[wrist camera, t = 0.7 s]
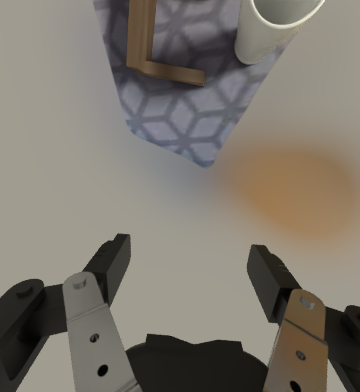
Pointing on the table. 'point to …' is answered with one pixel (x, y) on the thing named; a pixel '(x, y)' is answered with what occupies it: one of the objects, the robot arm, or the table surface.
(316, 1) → the white cup
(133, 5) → the walnut dock
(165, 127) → the table surface
